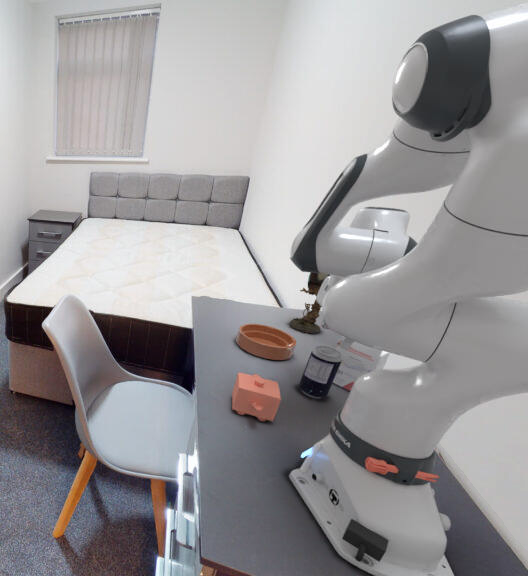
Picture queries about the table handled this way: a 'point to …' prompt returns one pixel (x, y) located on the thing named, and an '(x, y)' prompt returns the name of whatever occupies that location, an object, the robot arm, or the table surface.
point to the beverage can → (320, 371)
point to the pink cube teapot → (256, 396)
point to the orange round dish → (266, 341)
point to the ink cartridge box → (358, 363)
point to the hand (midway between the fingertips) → (333, 337)
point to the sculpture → (309, 319)
